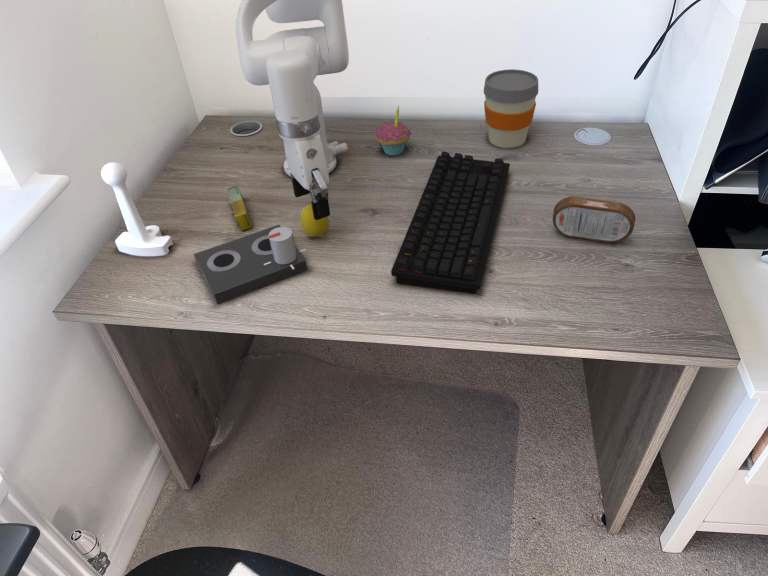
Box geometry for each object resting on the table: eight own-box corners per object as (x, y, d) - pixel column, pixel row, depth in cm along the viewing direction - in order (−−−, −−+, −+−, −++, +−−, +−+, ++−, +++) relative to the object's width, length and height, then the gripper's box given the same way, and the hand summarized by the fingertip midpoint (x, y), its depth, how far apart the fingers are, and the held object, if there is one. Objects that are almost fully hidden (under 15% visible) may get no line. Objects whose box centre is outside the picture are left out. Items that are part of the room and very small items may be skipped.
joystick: (115, 253, 127) (76, 168, 113) (134, 231, 132) (99, 147, 119) (163, 258, 124) (130, 171, 111) (181, 236, 130) (151, 150, 116)
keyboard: (480, 297, 110) (481, 276, 106) (391, 285, 113) (389, 264, 110) (509, 174, 140) (511, 154, 136) (438, 168, 144) (438, 148, 140)
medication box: (232, 203, 138) (226, 188, 135) (244, 199, 138) (238, 184, 136) (240, 231, 129) (234, 216, 126) (253, 227, 129) (247, 212, 127)
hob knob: (291, 247, 120) (286, 222, 116) (300, 259, 117) (295, 234, 113) (270, 255, 119) (264, 230, 115) (278, 267, 116) (273, 242, 112)
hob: (287, 231, 128) (285, 221, 127) (316, 271, 118) (314, 260, 116) (196, 263, 122) (193, 253, 120) (219, 308, 112) (215, 297, 110)
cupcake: (416, 145, 152) (414, 99, 144) (402, 162, 147) (400, 115, 139) (384, 140, 155) (381, 94, 147) (370, 156, 150) (365, 110, 142)
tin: (630, 238, 119) (639, 202, 114) (629, 248, 117) (639, 211, 112) (551, 227, 124) (556, 191, 118) (549, 236, 121) (554, 200, 116)
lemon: (326, 245, 124) (321, 212, 119) (300, 243, 125) (294, 210, 120) (334, 229, 128) (329, 196, 123) (308, 227, 129) (302, 195, 124)
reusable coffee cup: (503, 122, 158) (507, 64, 149) (543, 137, 151) (550, 78, 141) (470, 140, 152) (472, 81, 143) (511, 157, 145) (516, 96, 135)
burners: (277, 231, 124) (277, 231, 124) (289, 248, 120) (289, 247, 120) (203, 257, 119) (202, 257, 119) (212, 275, 115) (212, 275, 115)
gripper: (338, 136, 105) (348, 220, 116) (299, 102, 117) (312, 181, 128) (297, 148, 103) (311, 233, 114) (262, 112, 115) (278, 192, 126)
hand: (312, 205), depth 121 cm, fingers open, 9 cm apart
